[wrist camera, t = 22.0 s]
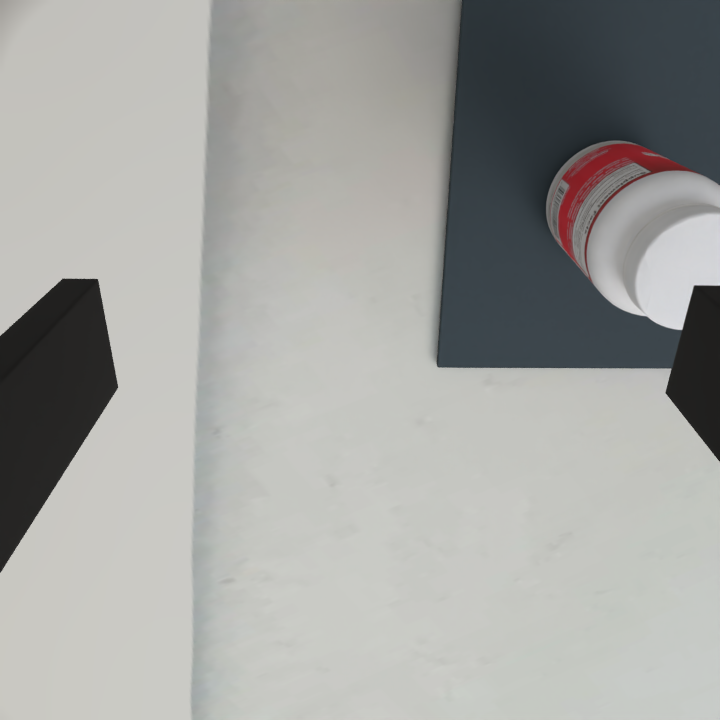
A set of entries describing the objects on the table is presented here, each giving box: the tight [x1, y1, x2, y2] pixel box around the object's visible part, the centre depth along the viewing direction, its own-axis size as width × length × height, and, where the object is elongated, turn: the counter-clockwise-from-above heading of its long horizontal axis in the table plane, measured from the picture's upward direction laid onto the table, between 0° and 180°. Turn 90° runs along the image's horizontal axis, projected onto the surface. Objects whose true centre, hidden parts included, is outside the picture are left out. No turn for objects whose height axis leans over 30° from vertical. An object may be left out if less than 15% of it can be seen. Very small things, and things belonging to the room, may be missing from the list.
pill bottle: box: [546, 141, 720, 330], centre depth 30 cm, size 6×6×11 cm
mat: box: [437, 0, 720, 368], centre depth 35 cm, size 20×16×1 cm
